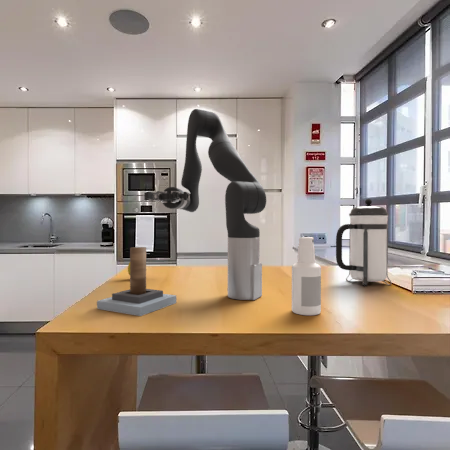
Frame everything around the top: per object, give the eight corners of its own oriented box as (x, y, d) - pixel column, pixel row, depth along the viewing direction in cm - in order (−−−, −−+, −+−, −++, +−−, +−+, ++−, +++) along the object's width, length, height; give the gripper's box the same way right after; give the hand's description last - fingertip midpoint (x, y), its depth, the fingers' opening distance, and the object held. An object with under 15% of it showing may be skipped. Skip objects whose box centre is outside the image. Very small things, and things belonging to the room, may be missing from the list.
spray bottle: (315, 317, 75) (316, 238, 75) (287, 313, 79) (287, 237, 79) (324, 310, 81) (324, 237, 81) (297, 306, 85) (297, 236, 84)
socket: (176, 302, 89) (176, 289, 89) (140, 316, 76) (140, 300, 76) (136, 297, 95) (136, 285, 95) (97, 308, 82) (97, 294, 82)
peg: (149, 304, 86) (149, 247, 86) (138, 308, 83) (138, 248, 83) (137, 303, 88) (137, 246, 88) (126, 306, 85) (126, 247, 85)
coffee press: (349, 277, 129) (349, 200, 129) (394, 282, 120) (395, 199, 119) (335, 284, 115) (335, 198, 115) (385, 290, 105) (386, 196, 105)
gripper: (155, 188, 119) (138, 183, 103) (194, 187, 117) (183, 182, 101) (155, 209, 119) (138, 207, 103) (194, 209, 117) (183, 206, 101)
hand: (160, 194), depth 102 cm, fingers open, 8 cm apart
